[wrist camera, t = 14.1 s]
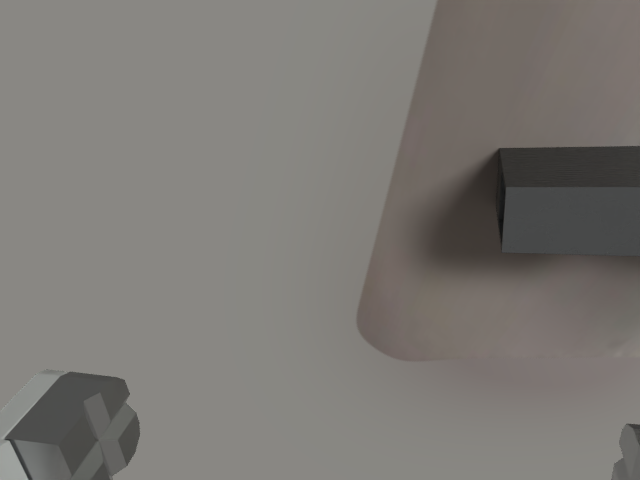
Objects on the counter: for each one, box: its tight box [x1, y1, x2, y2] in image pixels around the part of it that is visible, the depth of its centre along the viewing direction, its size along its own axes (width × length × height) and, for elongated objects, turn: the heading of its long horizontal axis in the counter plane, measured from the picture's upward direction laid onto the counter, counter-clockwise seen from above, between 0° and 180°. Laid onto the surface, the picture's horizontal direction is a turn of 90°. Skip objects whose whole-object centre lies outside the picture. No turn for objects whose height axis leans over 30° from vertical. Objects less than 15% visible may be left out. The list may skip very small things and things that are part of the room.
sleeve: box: [496, 146, 640, 256], centre depth 42 cm, size 11×5×8 cm, turn 95°
